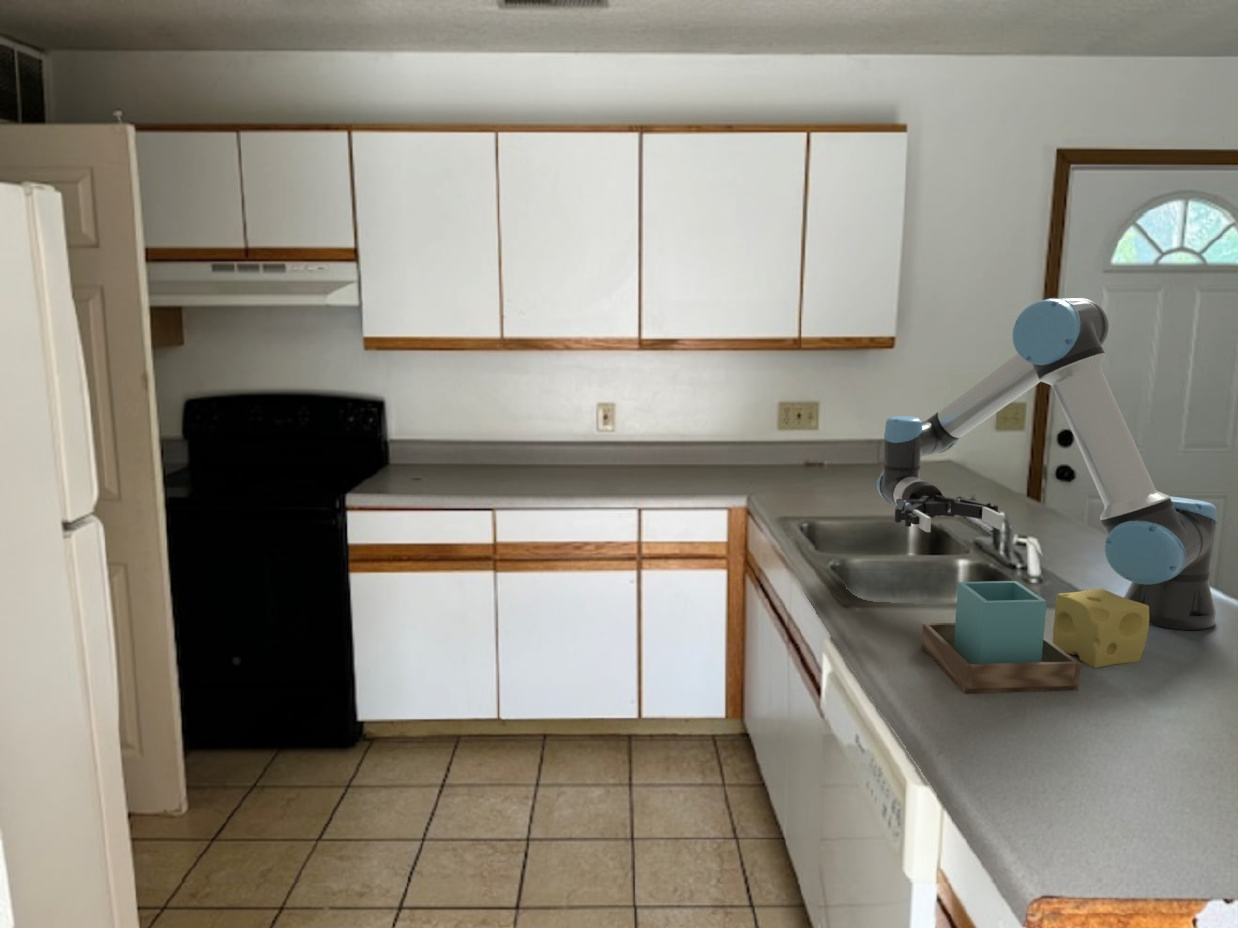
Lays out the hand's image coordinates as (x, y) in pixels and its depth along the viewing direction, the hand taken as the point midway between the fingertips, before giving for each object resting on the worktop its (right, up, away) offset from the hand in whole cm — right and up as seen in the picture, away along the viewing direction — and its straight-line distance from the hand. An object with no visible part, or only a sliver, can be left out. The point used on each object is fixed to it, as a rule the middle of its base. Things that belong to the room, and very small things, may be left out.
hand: (964, 523), depth 165 cm
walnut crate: (-1, -23, -16) cm, 28 cm away
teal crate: (-1, -22, -16) cm, 27 cm away
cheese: (+19, -22, -10) cm, 30 cm away
